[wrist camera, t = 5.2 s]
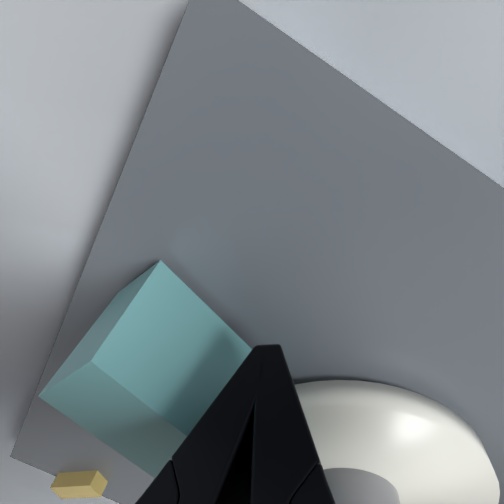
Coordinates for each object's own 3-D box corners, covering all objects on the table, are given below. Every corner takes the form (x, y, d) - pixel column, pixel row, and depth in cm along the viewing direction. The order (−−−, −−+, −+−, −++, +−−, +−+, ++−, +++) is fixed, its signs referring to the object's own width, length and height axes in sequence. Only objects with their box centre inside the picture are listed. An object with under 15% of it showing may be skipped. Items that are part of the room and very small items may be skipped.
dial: (532, 502, 13) (605, 649, 10) (313, 546, 17) (315, 661, 14) (269, 176, 8) (245, 256, 5) (50, 344, 13) (-40, 448, 9)
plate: (213, -18, 8) (190, -34, 6) (846, 430, 12) (933, 492, 10) (25, 435, 19) (-2, 472, 17) (384, 592, 22) (390, 635, 21)
